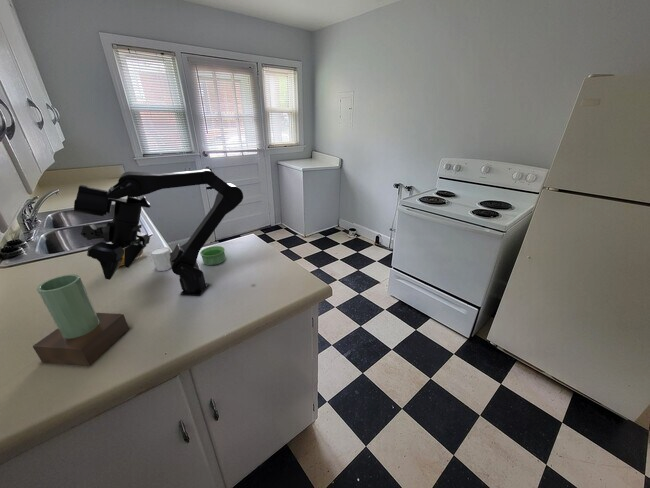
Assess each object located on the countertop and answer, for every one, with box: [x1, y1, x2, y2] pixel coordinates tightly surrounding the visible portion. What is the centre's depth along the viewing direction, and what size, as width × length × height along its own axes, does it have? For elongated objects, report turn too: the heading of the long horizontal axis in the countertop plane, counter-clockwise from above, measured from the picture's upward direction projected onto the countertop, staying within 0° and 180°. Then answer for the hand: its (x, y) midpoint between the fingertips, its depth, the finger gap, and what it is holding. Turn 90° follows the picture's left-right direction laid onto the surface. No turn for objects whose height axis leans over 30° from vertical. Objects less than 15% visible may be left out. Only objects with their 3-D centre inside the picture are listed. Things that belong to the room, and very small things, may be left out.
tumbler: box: [36, 273, 99, 339], centre depth 62 cm, size 7×7×13 cm
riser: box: [32, 312, 130, 366], centre depth 66 cm, size 12×12×5 cm
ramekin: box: [199, 245, 226, 266], centre depth 106 cm, size 9×9×4 cm
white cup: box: [149, 246, 172, 272], centre depth 101 cm, size 7×7×7 cm
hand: (117, 272), depth 75 cm, fingers open, 9 cm apart
